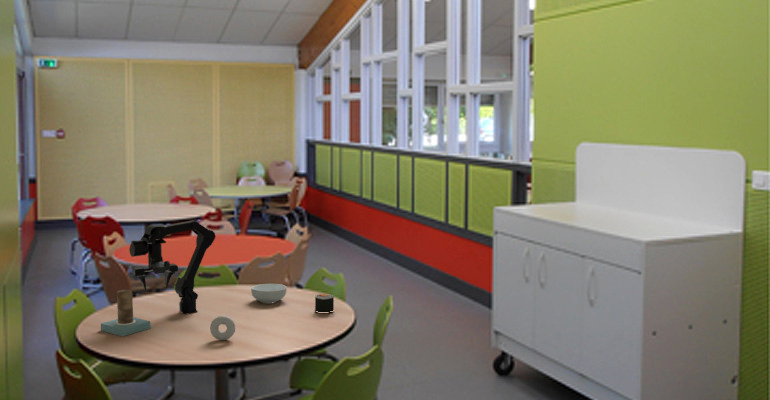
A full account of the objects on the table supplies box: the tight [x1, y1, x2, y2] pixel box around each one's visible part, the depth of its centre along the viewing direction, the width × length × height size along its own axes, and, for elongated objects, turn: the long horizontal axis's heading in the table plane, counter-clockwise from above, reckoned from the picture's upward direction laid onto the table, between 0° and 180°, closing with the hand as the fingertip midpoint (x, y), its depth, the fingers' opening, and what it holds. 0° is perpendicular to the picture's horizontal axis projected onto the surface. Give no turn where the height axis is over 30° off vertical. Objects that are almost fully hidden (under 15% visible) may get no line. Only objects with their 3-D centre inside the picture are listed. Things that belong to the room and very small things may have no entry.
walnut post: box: [116, 289, 134, 324], centre depth 303 cm, size 6×6×13 cm
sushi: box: [314, 292, 335, 312], centre depth 334 cm, size 8×8×8 cm
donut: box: [209, 315, 236, 341], centre depth 290 cm, size 10×4×10 cm, turn 95°
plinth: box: [100, 316, 152, 337], centre depth 304 cm, size 14×14×3 cm
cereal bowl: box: [250, 283, 287, 304], centre depth 351 cm, size 17×17×7 cm
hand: (155, 288), depth 320 cm, fingers open, 9 cm apart
